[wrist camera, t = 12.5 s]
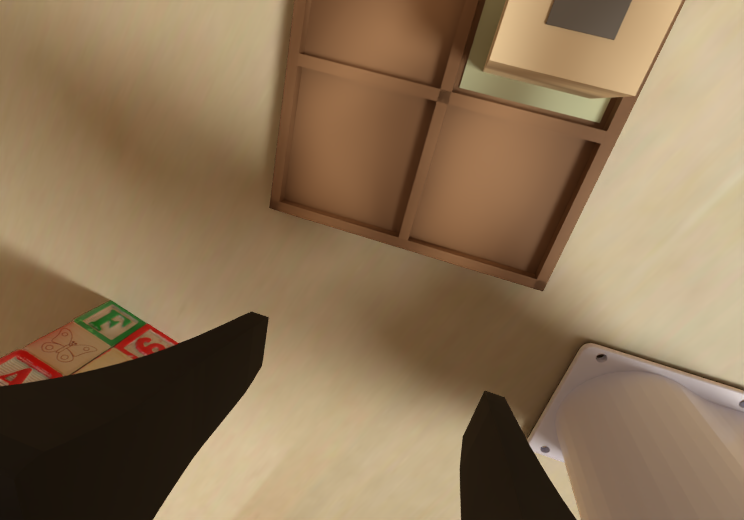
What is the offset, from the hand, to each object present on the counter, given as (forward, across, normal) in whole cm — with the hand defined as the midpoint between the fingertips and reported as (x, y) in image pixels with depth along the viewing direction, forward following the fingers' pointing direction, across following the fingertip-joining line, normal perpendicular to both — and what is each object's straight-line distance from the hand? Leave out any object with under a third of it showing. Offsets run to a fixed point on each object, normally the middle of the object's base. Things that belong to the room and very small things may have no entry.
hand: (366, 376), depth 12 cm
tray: (+9, 0, -8) cm, 13 cm away
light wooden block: (+9, -3, -12) cm, 15 cm away
